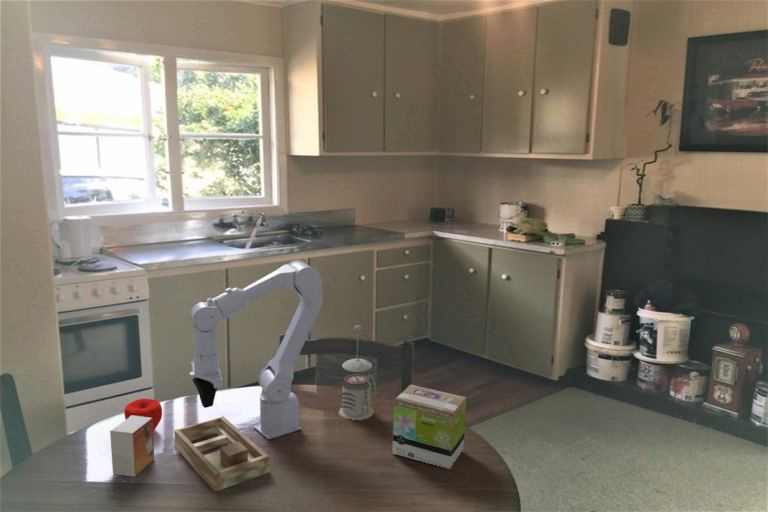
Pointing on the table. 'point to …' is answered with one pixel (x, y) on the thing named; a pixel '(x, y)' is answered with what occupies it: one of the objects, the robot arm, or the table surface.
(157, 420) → the apple
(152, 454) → the small box
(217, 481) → the box
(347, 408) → the french press
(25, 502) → the table surface
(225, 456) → the walnut block
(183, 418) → the table surface
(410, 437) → the tea box
